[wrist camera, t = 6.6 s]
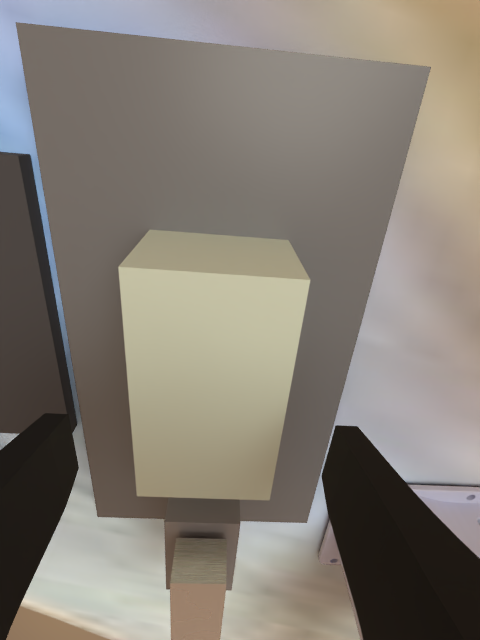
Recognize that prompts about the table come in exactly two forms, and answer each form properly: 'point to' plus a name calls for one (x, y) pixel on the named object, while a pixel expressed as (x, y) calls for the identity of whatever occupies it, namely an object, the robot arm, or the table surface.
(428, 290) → the table surface
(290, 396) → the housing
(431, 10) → the table surface
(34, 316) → the mat
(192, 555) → the bar
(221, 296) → the cream rectangular block
